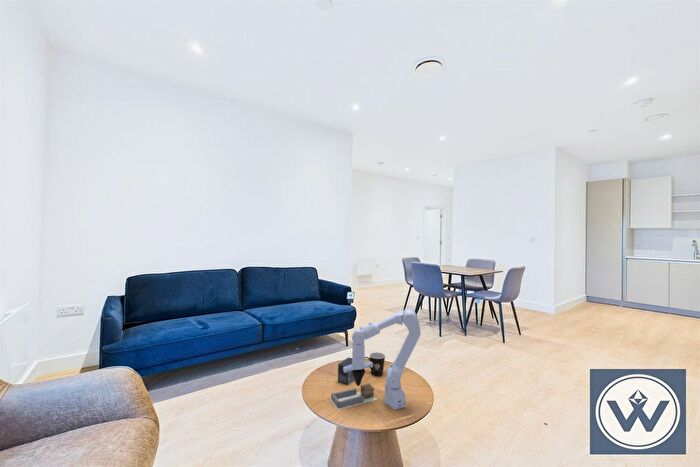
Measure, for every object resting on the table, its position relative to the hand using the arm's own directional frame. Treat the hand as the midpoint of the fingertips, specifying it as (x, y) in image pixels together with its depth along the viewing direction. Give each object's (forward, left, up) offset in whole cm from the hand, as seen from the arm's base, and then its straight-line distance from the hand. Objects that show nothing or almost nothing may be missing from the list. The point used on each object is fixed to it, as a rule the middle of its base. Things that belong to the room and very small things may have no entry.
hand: (357, 384), depth 139 cm
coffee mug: (+21, -21, -8) cm, 31 cm away
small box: (+18, -3, -8) cm, 20 cm away
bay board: (0, +2, -7) cm, 7 cm away
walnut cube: (0, -5, -6) cm, 8 cm away
